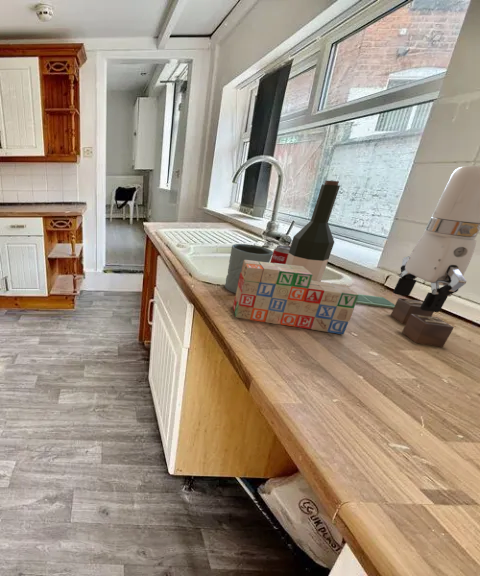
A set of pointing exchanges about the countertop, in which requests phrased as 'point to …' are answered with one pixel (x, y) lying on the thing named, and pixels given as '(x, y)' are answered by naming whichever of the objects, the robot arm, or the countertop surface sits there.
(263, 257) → the grey cylindrical pot
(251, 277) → the stack of blocks
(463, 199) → the robot arm
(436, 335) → the dark brown wooden box
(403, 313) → the dark brown cube
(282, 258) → the beverage can
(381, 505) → the countertop surface
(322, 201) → the wine bottle
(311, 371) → the countertop surface
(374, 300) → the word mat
